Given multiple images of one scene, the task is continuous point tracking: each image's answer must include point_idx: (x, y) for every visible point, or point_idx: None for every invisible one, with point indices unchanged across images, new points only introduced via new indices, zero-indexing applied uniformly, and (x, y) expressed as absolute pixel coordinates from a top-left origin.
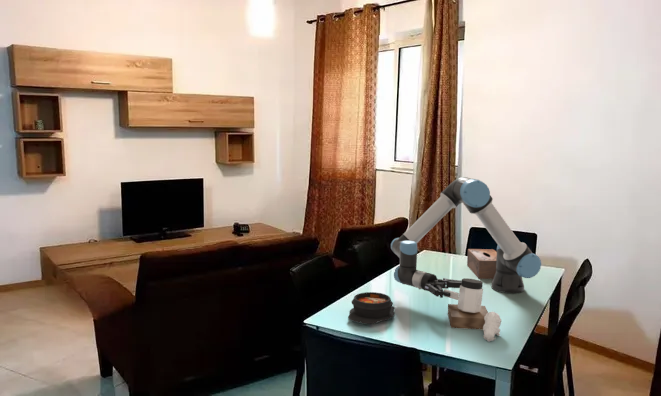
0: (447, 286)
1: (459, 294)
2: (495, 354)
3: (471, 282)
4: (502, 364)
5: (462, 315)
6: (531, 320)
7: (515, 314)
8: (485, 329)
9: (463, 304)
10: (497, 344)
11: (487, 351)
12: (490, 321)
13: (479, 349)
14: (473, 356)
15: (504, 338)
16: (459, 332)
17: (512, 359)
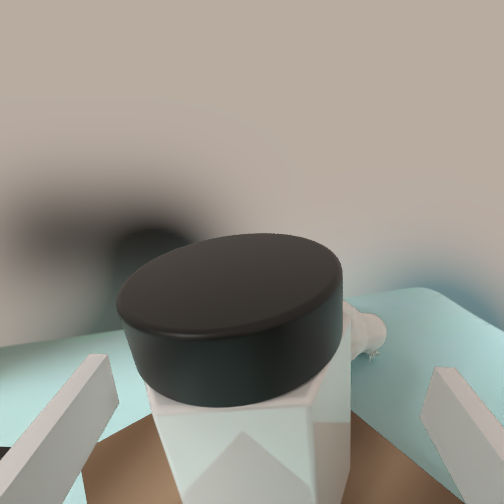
0: None
1: (320, 472)
2: (410, 313)
3: (315, 242)
4: (429, 293)
5: (371, 465)
6: (82, 338)
7: (15, 394)
8: (366, 337)
9: (350, 432)
10: None
11: (422, 328)
12: (350, 305)
13: (440, 344)
14: (490, 336)
15: None
16: (434, 469)
17: (387, 291)
